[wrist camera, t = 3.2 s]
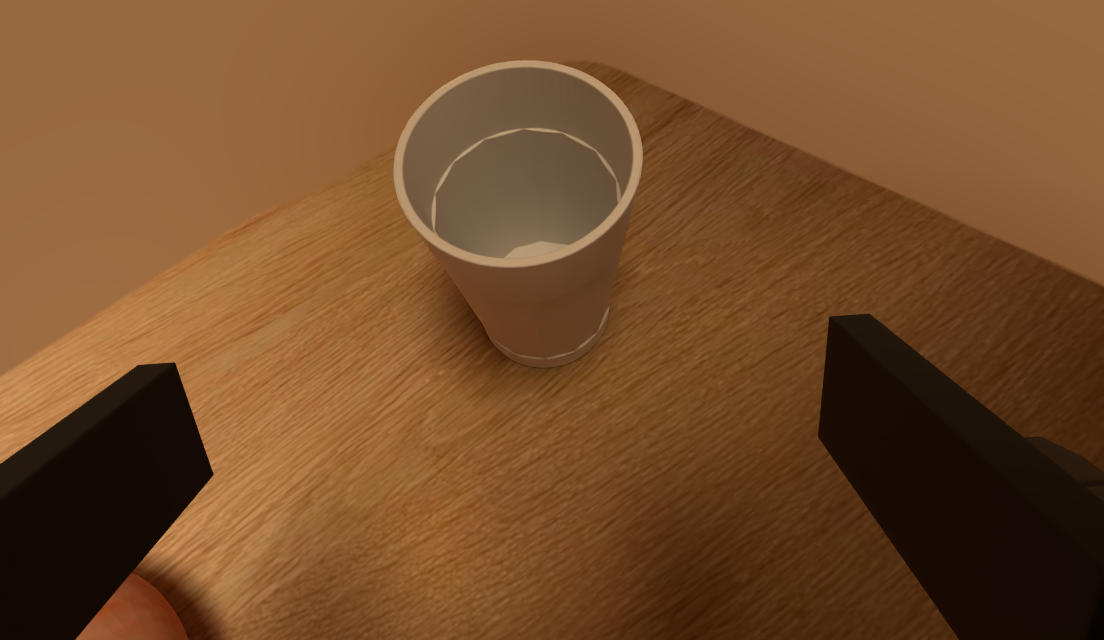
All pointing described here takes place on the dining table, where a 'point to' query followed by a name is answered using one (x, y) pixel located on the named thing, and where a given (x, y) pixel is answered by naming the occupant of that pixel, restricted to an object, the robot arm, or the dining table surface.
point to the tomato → (135, 615)
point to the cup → (525, 200)
